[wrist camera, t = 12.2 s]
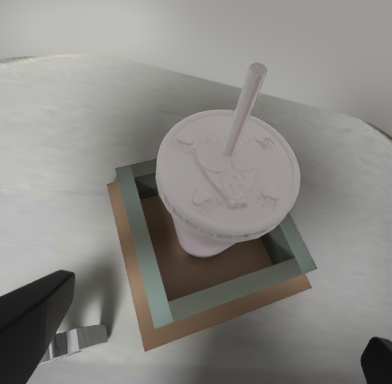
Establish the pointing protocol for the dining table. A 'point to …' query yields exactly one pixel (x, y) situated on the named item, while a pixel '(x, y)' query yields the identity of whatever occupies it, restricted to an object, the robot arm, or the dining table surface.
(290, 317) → the dining table surface
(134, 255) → the dock
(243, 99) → the smoothie
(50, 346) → the caliper
